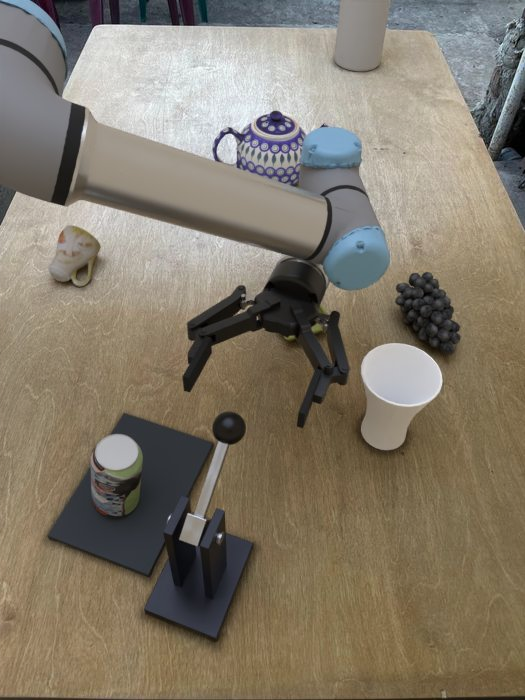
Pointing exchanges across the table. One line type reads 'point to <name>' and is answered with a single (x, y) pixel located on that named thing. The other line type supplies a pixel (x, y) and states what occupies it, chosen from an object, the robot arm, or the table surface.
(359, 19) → the cylinder vase
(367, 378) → the cup
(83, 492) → the slate mat
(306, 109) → the table surface
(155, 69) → the table surface
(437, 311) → the fruit
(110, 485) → the beverage can
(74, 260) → the mug
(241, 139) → the teapot
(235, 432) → the tap lever
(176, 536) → the bracket
